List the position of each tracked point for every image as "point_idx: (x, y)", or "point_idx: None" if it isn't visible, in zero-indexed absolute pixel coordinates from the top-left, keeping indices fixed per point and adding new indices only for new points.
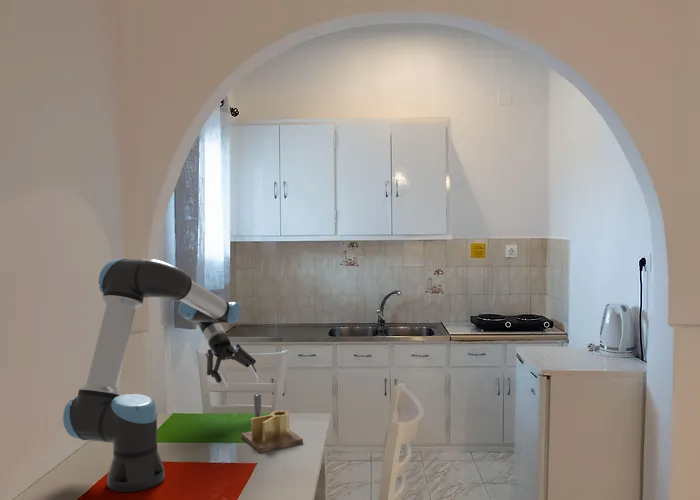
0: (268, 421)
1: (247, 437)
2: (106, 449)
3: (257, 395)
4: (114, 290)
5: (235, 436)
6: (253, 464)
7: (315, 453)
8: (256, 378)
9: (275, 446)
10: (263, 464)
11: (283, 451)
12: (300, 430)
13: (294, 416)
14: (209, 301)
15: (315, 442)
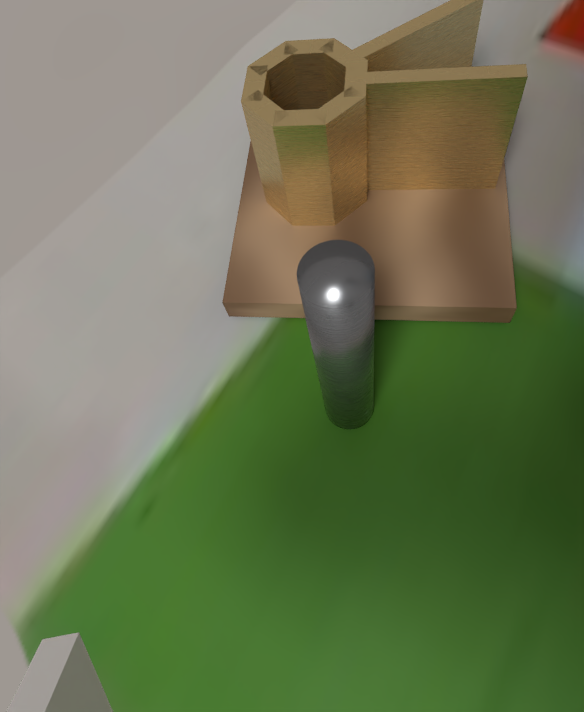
0: (433, 15)
1: (505, 225)
2: None
3: (345, 253)
4: None
5: (535, 374)
6: (560, 30)
7: (282, 25)
8: (73, 666)
9: None
10: (520, 17)
11: None
12: (159, 260)
13: (10, 503)
14: None
15: (208, 106)
